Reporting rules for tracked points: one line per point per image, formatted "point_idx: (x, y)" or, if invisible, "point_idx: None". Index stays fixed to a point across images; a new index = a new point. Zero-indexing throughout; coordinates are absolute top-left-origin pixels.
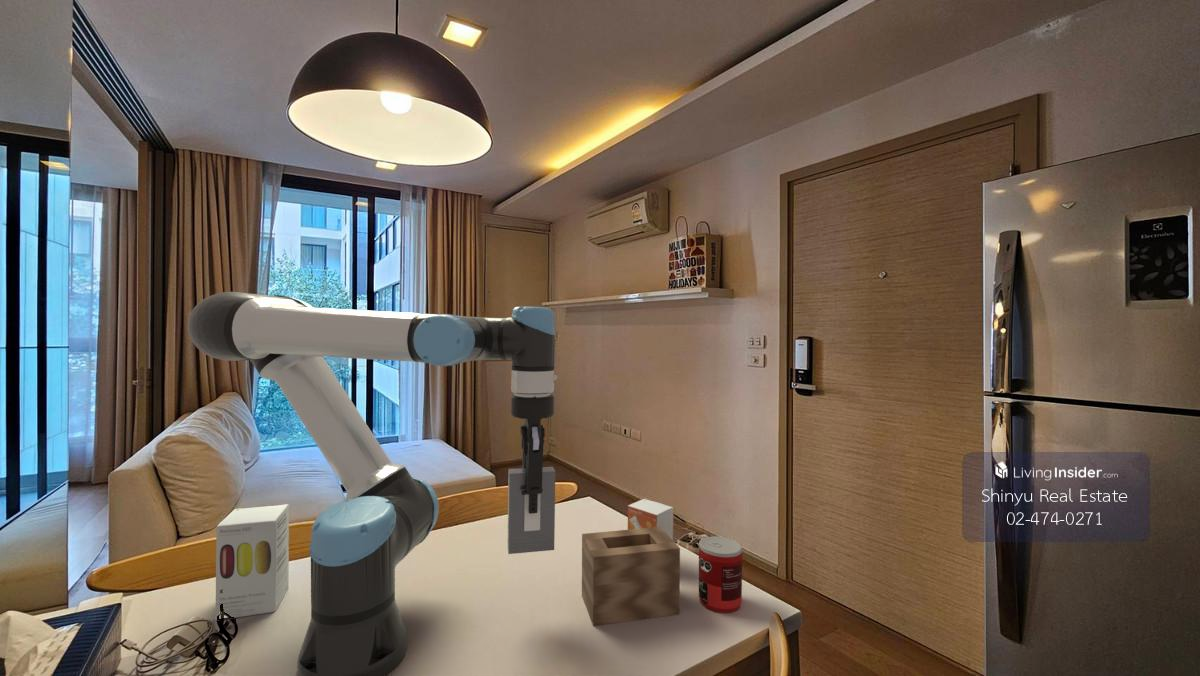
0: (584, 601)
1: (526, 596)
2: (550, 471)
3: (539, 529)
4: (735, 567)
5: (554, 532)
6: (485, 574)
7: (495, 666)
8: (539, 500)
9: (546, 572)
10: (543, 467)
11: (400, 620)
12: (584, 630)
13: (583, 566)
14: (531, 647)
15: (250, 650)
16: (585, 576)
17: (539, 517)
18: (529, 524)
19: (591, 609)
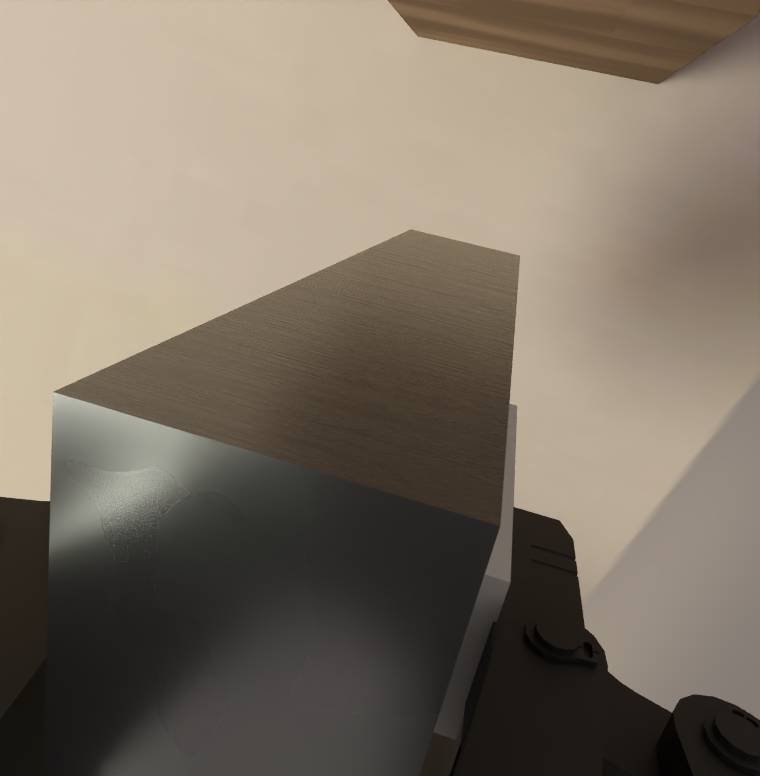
0: (476, 46)
1: (326, 265)
2: (447, 630)
3: (515, 410)
4: None
5: (517, 271)
6: (123, 355)
7: (671, 488)
8: (508, 536)
9: (176, 120)
10: (71, 612)
11: (448, 740)
12: (664, 133)
13: (430, 6)
14: (645, 359)
15: None
16: (488, 24)
17: (511, 449)
18: None
19: (630, 69)
